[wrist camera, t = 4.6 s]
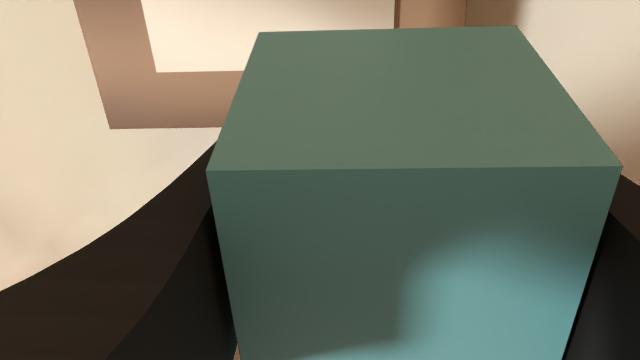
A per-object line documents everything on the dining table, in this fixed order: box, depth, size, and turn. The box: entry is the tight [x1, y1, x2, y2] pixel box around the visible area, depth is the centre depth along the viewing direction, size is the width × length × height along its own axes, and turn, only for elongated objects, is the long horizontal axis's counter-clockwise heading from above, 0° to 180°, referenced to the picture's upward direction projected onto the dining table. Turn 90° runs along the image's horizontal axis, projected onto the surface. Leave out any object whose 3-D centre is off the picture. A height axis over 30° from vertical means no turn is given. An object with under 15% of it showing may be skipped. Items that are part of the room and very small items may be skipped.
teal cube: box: [206, 26, 623, 360], centre depth 10 cm, size 5×5×5 cm
